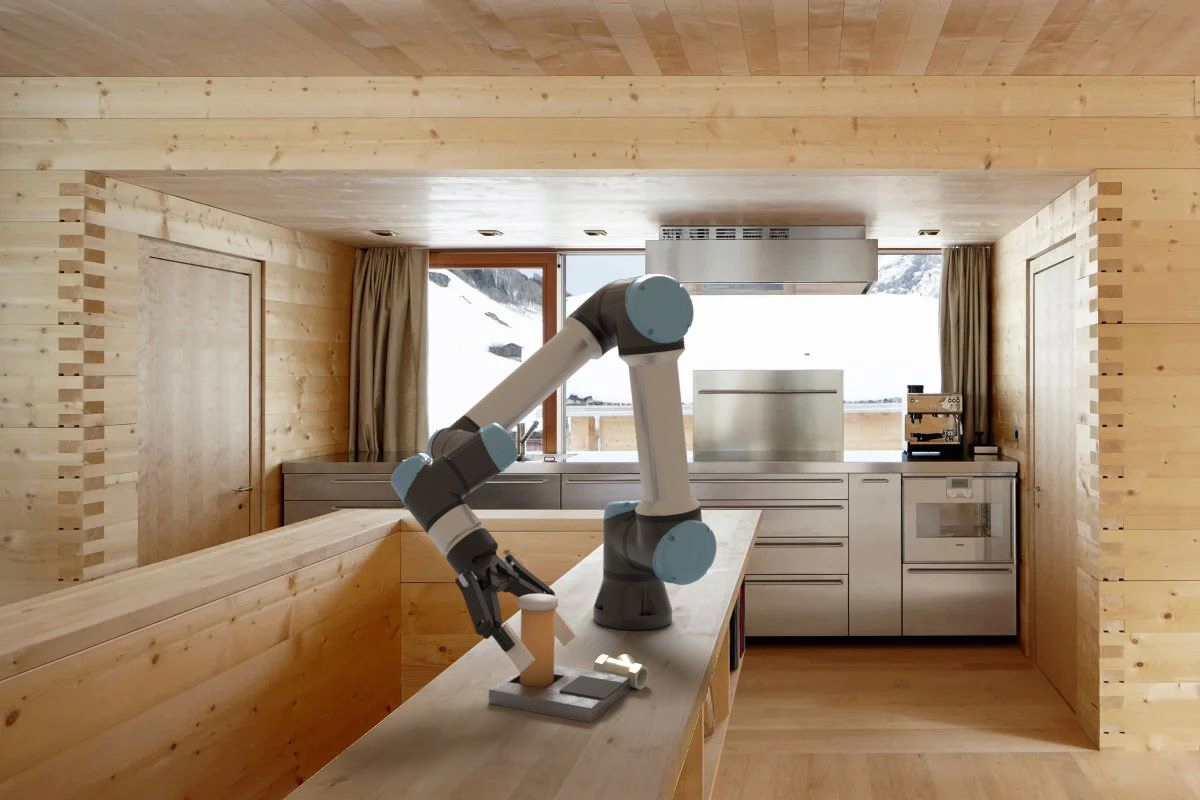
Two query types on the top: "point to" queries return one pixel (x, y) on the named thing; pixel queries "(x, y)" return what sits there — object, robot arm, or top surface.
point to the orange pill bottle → (538, 638)
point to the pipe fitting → (623, 669)
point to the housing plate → (557, 695)
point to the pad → (592, 687)
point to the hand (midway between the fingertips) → (550, 653)
